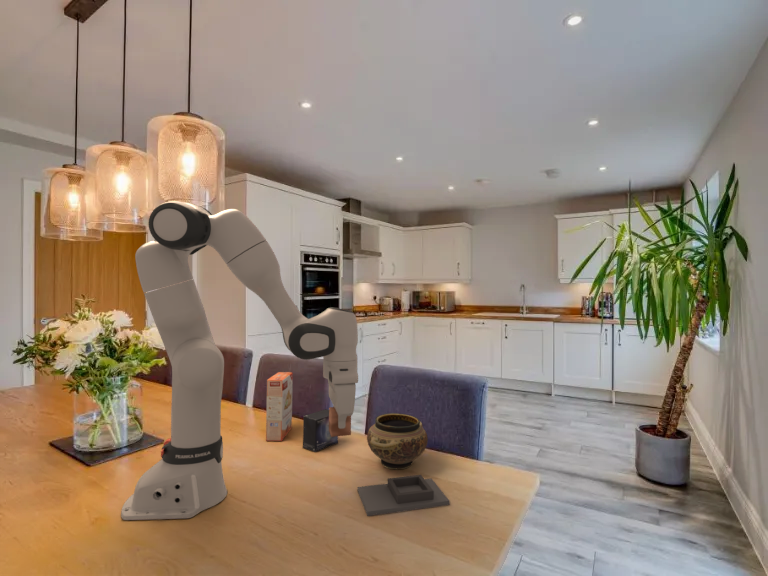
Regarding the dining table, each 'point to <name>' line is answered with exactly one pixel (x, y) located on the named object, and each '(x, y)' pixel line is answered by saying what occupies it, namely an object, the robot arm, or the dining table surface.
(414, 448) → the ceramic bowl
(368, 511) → the base board
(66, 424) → the dining table surface
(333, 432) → the terracotta block
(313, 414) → the small box
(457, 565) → the dining table surface
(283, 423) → the cracker box
